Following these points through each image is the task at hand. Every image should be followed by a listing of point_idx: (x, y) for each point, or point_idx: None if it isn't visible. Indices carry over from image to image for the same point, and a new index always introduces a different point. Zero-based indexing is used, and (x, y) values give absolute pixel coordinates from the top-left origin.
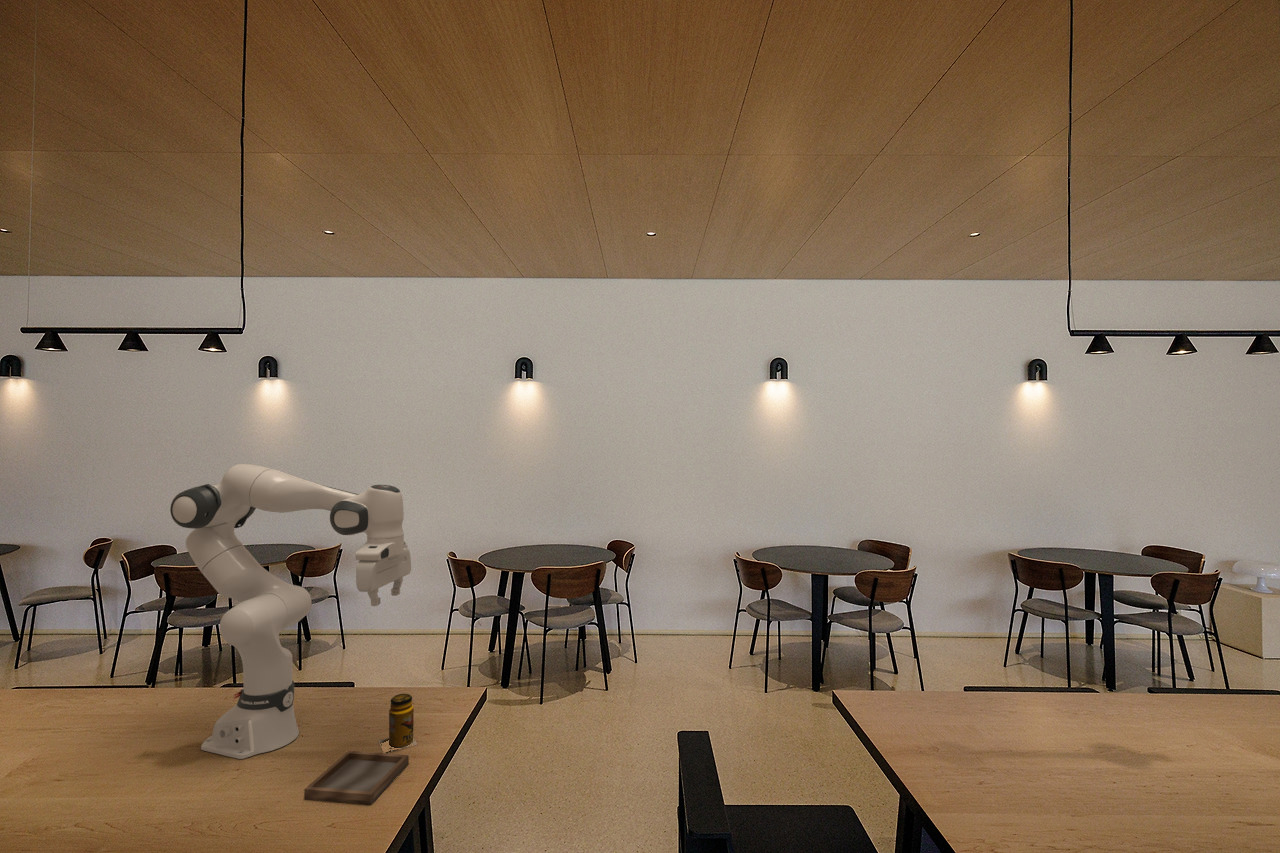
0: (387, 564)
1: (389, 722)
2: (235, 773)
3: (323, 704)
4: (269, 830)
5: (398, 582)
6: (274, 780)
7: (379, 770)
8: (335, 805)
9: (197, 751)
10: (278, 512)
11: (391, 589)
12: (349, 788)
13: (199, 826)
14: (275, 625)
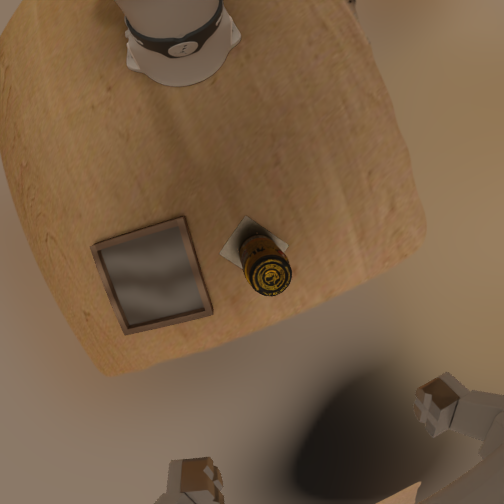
0: None
1: (245, 253)
2: (100, 96)
3: (307, 35)
4: (50, 258)
5: (486, 429)
6: (105, 162)
7: (176, 291)
8: None
9: None
10: None
11: (438, 411)
12: (129, 286)
13: (25, 178)
14: None
